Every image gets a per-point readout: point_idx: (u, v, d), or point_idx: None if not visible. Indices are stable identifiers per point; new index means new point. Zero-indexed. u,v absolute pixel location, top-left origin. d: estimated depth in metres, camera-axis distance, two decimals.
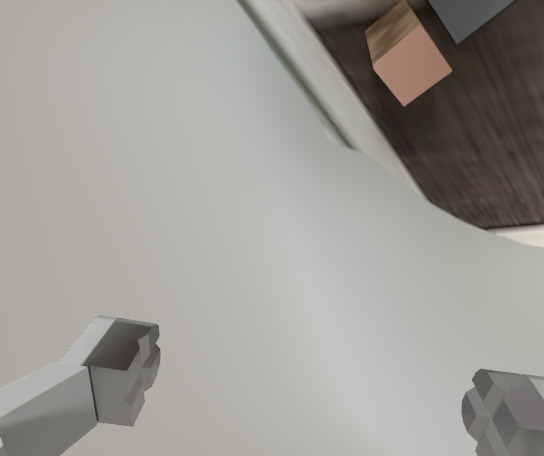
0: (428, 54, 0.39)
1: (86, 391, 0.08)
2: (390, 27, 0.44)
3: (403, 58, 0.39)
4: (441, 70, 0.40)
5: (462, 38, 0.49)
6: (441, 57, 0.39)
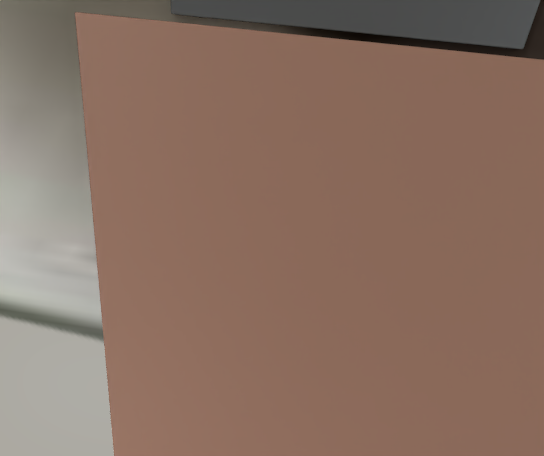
0: (414, 180, 0.03)
1: None
2: None
3: (224, 361, 0.04)
4: None
5: (526, 22, 0.14)
6: None
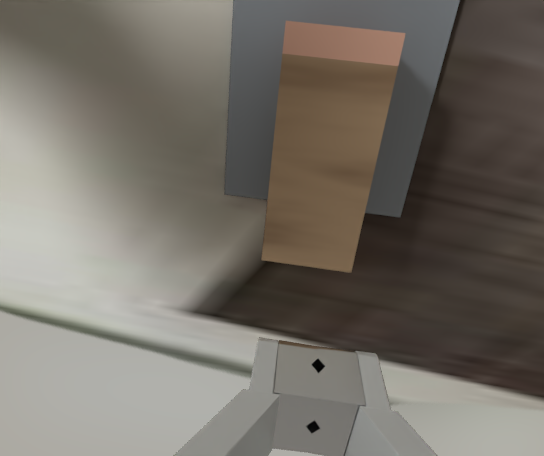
0: None
1: (274, 419, 0.07)
2: None
3: None
4: None
5: (400, 206, 0.28)
6: None
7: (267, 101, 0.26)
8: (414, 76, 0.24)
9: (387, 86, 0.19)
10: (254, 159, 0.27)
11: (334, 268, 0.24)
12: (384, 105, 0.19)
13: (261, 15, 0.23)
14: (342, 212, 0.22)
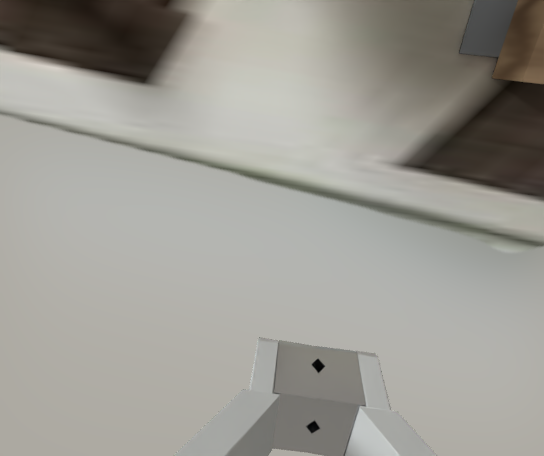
0: None
1: (274, 419, 0.07)
2: (530, 6, 0.33)
3: None
4: None
5: None
6: None
7: None
8: None
9: None
10: (492, 21, 0.36)
11: None
12: None
13: None
14: None
